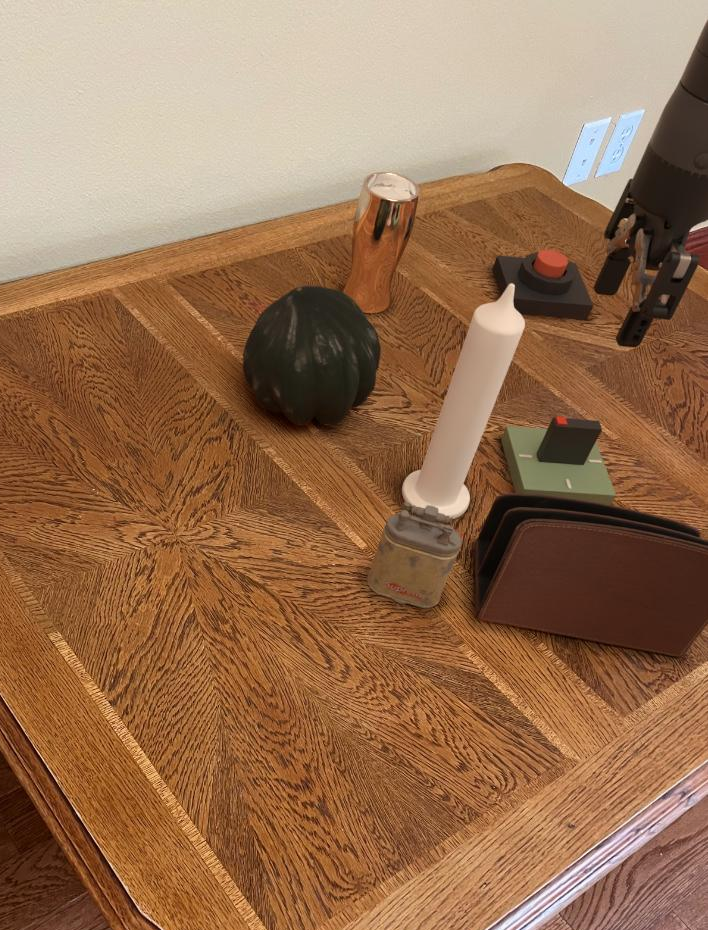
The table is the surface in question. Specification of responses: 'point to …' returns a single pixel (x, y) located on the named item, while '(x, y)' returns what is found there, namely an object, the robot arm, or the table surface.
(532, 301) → the button housing
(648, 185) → the robot arm
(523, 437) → the dial panel
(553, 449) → the dial
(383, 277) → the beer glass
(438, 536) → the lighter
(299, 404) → the squash
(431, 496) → the candle
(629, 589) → the letter holder
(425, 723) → the table surface
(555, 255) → the red button
